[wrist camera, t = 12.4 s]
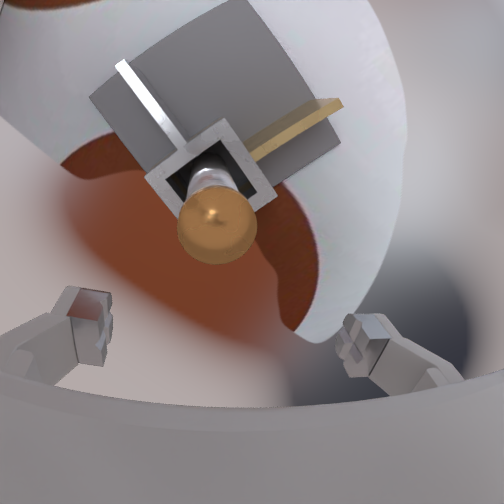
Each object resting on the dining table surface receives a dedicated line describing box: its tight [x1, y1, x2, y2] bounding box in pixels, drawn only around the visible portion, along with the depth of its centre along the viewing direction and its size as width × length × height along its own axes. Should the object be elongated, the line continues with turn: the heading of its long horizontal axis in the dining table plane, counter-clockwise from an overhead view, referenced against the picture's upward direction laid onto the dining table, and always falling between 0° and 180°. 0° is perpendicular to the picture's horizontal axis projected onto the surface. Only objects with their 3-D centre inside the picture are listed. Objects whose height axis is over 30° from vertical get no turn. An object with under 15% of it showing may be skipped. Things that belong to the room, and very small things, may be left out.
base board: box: [89, 0, 341, 187], centre depth 33 cm, size 22×21×1 cm
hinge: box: [115, 59, 343, 219], centre depth 29 cm, size 19×19×8 cm
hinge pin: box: [177, 153, 257, 265], centre depth 26 cm, size 5×5×19 cm
